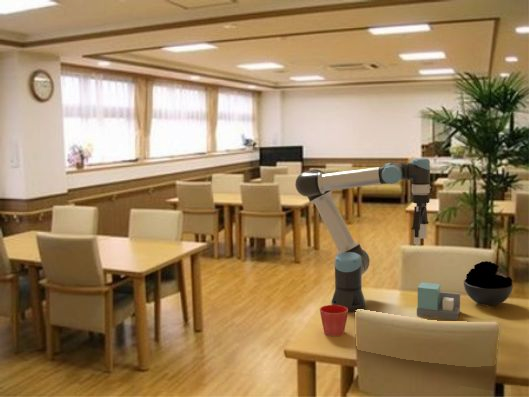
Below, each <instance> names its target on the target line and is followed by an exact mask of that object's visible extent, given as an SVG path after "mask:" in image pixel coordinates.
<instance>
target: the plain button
mask: <svg viewBox="0 0 529 397" xmlns="http://www.w3.org/2000/svg"><path fill="white" fill-rule="evenodd" d="M443 310H451V311H453V310H454V298H446V297H444V298H443Z"/></svg>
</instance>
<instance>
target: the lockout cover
mask: <svg viewBox="0 0 529 397" xmlns="http://www.w3.org/2000/svg"><path fill="white" fill-rule="evenodd" d="M440 291H441V283H432V282H431V283H429V282H420V283H419V285H418V286H417V307H418V308H420V309H429V310H438V308H439V306H440Z"/></svg>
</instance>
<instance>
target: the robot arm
mask: <svg viewBox="0 0 529 397" xmlns="http://www.w3.org/2000/svg"><path fill="white" fill-rule="evenodd" d="M430 163H431V161H430V159H429V158H426V157H421V158H420V157H418V158H416V157H414V158H413V159H412V160H411V162H408V163H407V162H388V163H387V162H386V163H385V164H384V166H377V167H369V168H368V167H367V168H361V169H354V170H346V171H345V170H344V171H337V172H331V173H326V172H324V171H323V170H321V169H318V168H313V169H310V170H307V171H303V172H301V173H300V174H299V175H298V176H297V177H296V179H295V185H294V186H295V188H296V191H297V192H298V194H299V195H301V196H302V197H307V199H308V201H309V203H312V204H313V205H315V207H316V209H317V212H318V213H319V216H320V217H321V219H322V221H323V223H324V225H325V227H326V229H327V231H328V233H329V235H330V237H331V239H332V240H333V242H334V245H335V247H336V248H337V253H336V256H335V258H334V293H333V294H332V295H333V296H332V299H331V301H330V302H331V303H330V305H340V306H344V307H346V308H348V313H349V312H350V313H351V312H352V313H353V312H356V311H355V310H357V309H363V310H364V309H366V306H367V304H366V303H367V302H366V299H365V296H364V292H363V289H362V282H363V281H362V276H363V275H364V274H365V273H366V272H367V270H368V269H369V266H370V263H371V262H370V256H369V253H367V251H366V250H365V249H362V247H361V244H360V243H359V242H357V241H355V240H354V238H353V236H352V234H351V232H350V230H349V228H348V226H347V225H346V224H347V223H346V222H345V220H344V219H343V216H342V215H341V212H340V211H339V208H338V207H337V204H336V203H335V201H334V199H333V197H332V193H333V191H337V190H346V189H353V188H361V187H371V186H379V185H386V184H387V185H393V184H397V183H399V182H400V181H411V193H412V194H411V202H412V203H413V204H415V206H414V207H413V209H414V211H413V221H412V227H411V230H413V245H415V246H416V245H417V246H419V245H421V239H424V240H426V239H427V238H428V237H427V225H429V221H428V211H427V210H428V209H427V208H428V207H427V204H429V203H430V202H431V201H430V199H431V198H430V192H431V190H430V189H432V186H430V183H431V182H430V181H431V164H430Z"/></svg>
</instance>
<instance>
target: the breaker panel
mask: <svg viewBox="0 0 529 397" xmlns="http://www.w3.org/2000/svg"><path fill="white" fill-rule="evenodd" d="M444 297H446V298H454V310H453V311H451V310H443V298H444ZM460 312H461V293H459V292H451V291H450V292H449V291H441V290H440V306H439V308H438V310H429V309H420V308H418V306H417V308H416V316H417V317H419V316H420V317H425V316H427V318H433V319H434V318H435V319H440V320H441V319H443V320H450V321H451V320H452V321H457V320H458V318H459V316H460Z"/></svg>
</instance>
